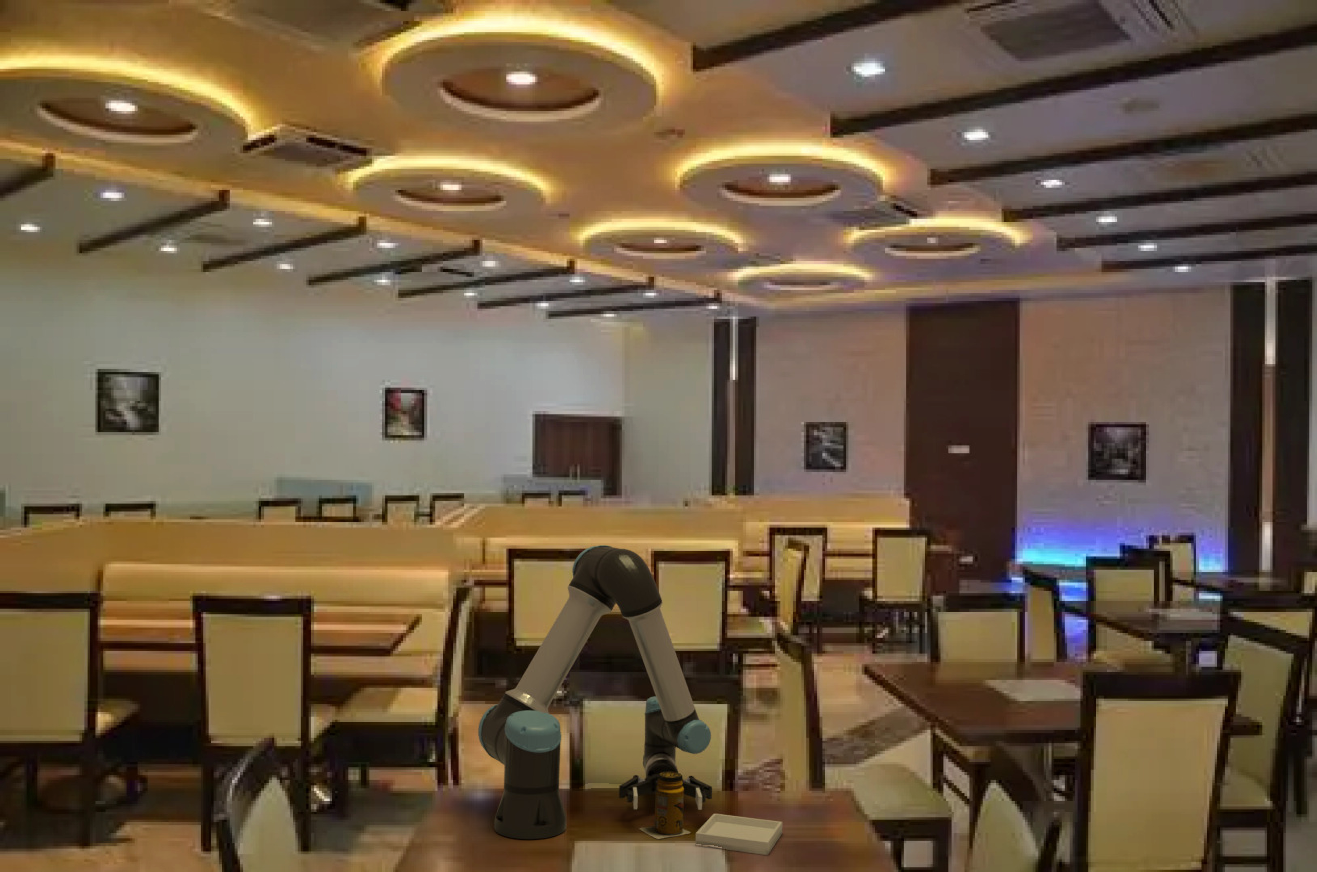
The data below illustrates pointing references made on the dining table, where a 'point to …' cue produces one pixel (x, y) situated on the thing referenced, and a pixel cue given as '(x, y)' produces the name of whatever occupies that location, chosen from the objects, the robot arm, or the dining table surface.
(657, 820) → the condiment
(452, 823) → the dining table surface
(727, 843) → the tray
